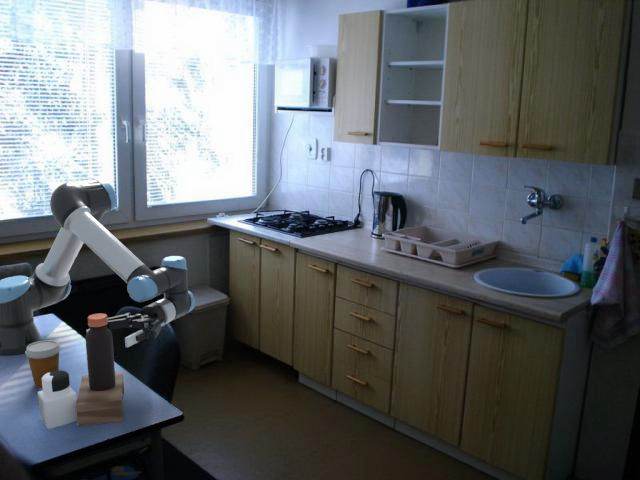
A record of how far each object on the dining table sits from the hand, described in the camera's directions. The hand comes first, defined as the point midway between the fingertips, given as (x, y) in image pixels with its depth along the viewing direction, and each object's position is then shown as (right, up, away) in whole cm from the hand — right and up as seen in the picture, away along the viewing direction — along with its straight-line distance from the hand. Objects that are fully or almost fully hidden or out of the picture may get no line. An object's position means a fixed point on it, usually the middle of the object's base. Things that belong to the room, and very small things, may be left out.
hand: (106, 338), depth 169 cm
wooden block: (-1, -19, 0) cm, 19 cm away
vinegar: (-1, -13, 0) cm, 13 cm away
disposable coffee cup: (-23, -16, +15) cm, 31 cm away
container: (-10, -21, -6) cm, 24 cm away
